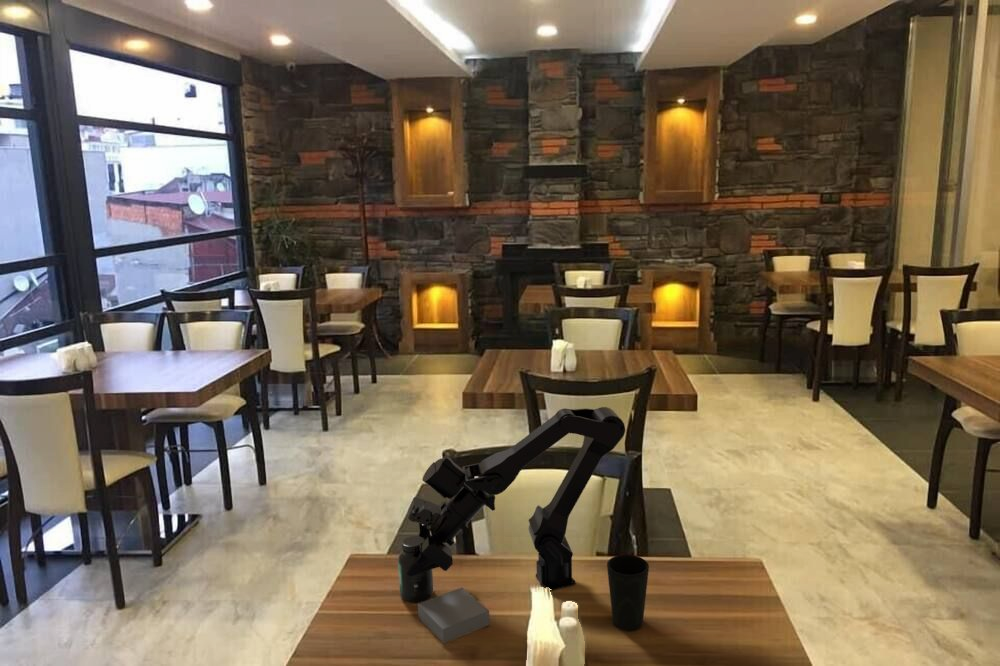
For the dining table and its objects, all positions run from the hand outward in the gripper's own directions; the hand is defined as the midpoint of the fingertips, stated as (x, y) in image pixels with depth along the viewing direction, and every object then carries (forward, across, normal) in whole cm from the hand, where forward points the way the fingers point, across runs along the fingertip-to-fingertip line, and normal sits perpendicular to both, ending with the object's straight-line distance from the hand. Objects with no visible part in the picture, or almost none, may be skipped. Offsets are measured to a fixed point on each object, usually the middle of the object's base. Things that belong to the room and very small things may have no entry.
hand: (408, 565), depth 151 cm
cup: (-24, +17, +34) cm, 45 cm away
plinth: (-1, +11, +10) cm, 15 cm away
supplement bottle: (+4, 0, +6) cm, 7 cm away
